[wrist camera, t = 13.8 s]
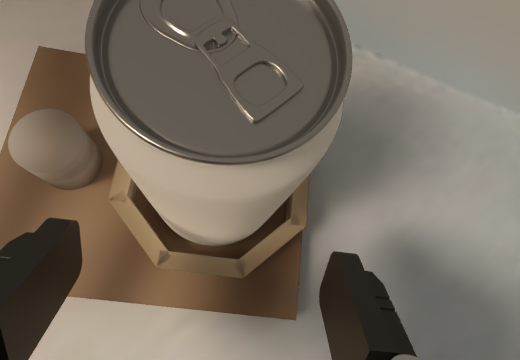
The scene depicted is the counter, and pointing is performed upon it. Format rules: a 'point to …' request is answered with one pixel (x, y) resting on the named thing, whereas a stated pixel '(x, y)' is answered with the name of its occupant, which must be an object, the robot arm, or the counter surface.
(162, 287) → the board
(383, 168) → the counter surface
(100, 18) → the can
